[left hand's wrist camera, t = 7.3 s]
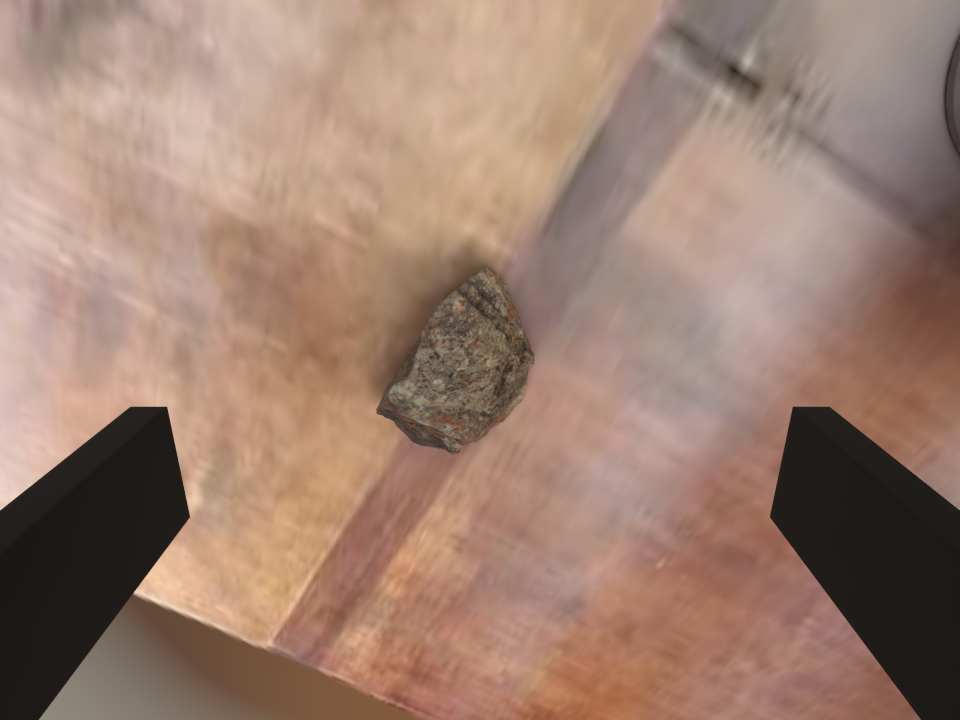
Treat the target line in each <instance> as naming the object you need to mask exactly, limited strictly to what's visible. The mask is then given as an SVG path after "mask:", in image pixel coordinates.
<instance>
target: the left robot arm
mask: <svg viewBox="0 0 960 720" xmlns="http://www.w3.org/2000/svg"><path fill="white" fill-rule="evenodd" d="M946 110H947V119H948V125H949V130H950V133H951V136H952V139H953V142H954V144H955V146H956V148H957V150H958V152H959V153H960V39H959V41H958V44H957V47H956V49H955V52H954V55H953V59H952V62H951V66H950V71H949V76H948V82H947V91H946ZM189 518H190V515H189V510H188V505H187V500H186V495H185V491H184V486H183V481H182V476H181V471H180V467H179V462H178V457H177V452H176V447H175V443H174V438H173V433H172V428H171V423H170V419H169V414H168V409H167V407H130V408H128V409H127V410H126V411H125V412H123V413H122V414H121V415H120V416H118V417H117V418H116V419H115V420H113V421H112V422H111V423H110V424H108V425H107V426H106V427H105V428H103V429H102V430H101V431H100V432H98V433H97V434H96V435H95V436H93V437H92V438H91V439H90V440H88V441H87V442H86V443H84V444H83V445H82V446H81V447H79V448H78V449H77V450H76V451H74V452H73V453H72V454H71V455H69V456H68V457H67V458H66V459H64V460H63V461H62V462H61V463H59V464H58V465H57V466H56V467H54V468H53V469H52V470H51V471H49V472H48V473H47V474H46V475H44V476H43V477H42V478H41V479H39V480H38V481H37V482H36V483H34V484H33V485H32V486H30V487H29V488H28V489H27V490H25V491H24V492H23V493H22V494H20V495H19V496H18V497H17V498H15V499H14V500H13V501H12V502H10V503H9V504H8V505H7V506H5V507H4V508H3V509H2V510H0V720H39V719H40V717H41V716H42V715H43V713H44V712H45V711H46V709H47V708H48V707H49V705H50V704H51V702H52V701H53V700H54V699H55V697H56V696H57V695H58V693H59V692H60V691H61V689H62V688H63V686H64V685H65V684H66V682H67V681H68V680H69V678H70V677H71V676H72V674H73V673H74V672H75V670H76V669H77V668H78V666H79V665H80V664H81V662H82V661H83V660H84V658H85V657H86V656H87V654H88V653H89V652H90V650H91V649H92V648H93V646H94V645H95V644H96V642H97V641H98V640H99V638H100V637H101V636H102V634H103V633H104V632H105V630H106V629H107V628H108V626H109V625H110V624H111V622H112V621H113V620H114V618H115V617H116V615H117V614H118V613H119V611H120V610H121V609H122V607H123V606H124V605H125V603H126V602H127V601H128V599H129V598H130V597H131V595H132V594H133V593H134V591H135V590H136V589H137V587H138V586H139V585H140V583H141V582H142V581H143V579H144V578H145V577H146V575H147V574H148V573H149V571H150V570H151V569H152V567H153V566H154V565H155V563H156V562H157V561H158V559H159V558H160V557H161V555H162V554H163V553H164V551H165V550H166V549H167V547H168V546H169V545H170V543H171V542H172V540H173V539H174V538H175V536H176V535H177V534H178V532H179V531H180V530H181V528H182V527H183V526H184V524H185V523H186V522H187V520H188V519H189ZM770 518H771V519H772V520H773V522H774V523H775V524H776V526H777V527H778V528H779V530H780V531H781V532H782V534H783V535H784V536H785V538H786V539H787V540H788V542H789V543H790V545H791V546H792V547H793V549H794V550H795V551H796V553H797V554H798V555H799V557H800V558H801V559H802V561H803V562H804V563H805V565H806V566H807V567H808V569H809V570H810V571H811V573H812V574H813V575H814V577H815V578H816V579H817V581H818V582H819V583H820V585H821V586H822V587H823V589H824V590H825V591H826V593H827V594H828V595H829V597H830V598H831V599H832V601H833V602H834V603H835V605H836V606H837V607H838V609H839V610H840V611H841V613H842V614H843V616H844V617H845V618H846V620H847V621H848V622H849V624H850V625H851V626H852V628H853V629H854V630H855V632H856V633H857V634H858V636H859V637H860V638H861V640H862V641H863V642H864V644H865V645H866V646H867V648H868V649H869V650H870V652H871V653H872V654H873V656H874V657H875V658H876V660H877V661H878V662H879V664H880V665H881V666H882V668H883V669H884V670H885V672H886V673H887V674H888V676H889V677H890V678H891V680H892V681H893V682H894V684H895V685H896V686H897V688H898V689H899V691H900V692H901V693H902V695H903V696H904V697H905V699H906V700H907V701H908V703H909V704H910V705H911V707H912V708H913V709H914V711H915V712H916V713H917V715H918V716H919V717H920V719H921V720H960V510H958V509H957V508H956V507H955V506H953V505H952V504H951V503H950V502H948V501H947V500H946V499H945V498H943V497H942V496H941V495H940V494H938V493H937V492H936V491H935V490H933V489H932V488H931V487H930V486H928V485H927V484H926V483H924V482H923V481H922V480H921V479H919V478H918V477H917V476H916V475H914V474H913V473H912V472H911V471H909V470H908V469H907V468H906V467H904V466H903V465H902V464H901V463H899V462H898V461H897V460H896V459H894V458H893V457H892V456H891V455H889V454H888V453H887V452H886V451H884V450H883V449H882V448H881V447H879V446H878V445H877V444H876V443H874V442H873V441H872V440H870V439H869V438H868V437H867V436H865V435H864V434H863V433H862V432H860V431H859V430H858V429H857V428H855V427H854V426H853V425H852V424H850V423H849V422H848V421H847V420H845V419H844V418H843V417H842V416H840V415H839V414H838V413H837V412H835V411H834V410H833V409H832V408H830V407H793V409H792V414H791V419H790V423H789V428H788V433H787V438H786V443H785V447H784V452H783V457H782V462H781V467H780V471H779V476H778V481H777V486H776V491H775V495H774V500H773V505H772V510H771V515H770Z"/></svg>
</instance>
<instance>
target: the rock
mask: <svg viewBox="0 0 960 720" xmlns="http://www.w3.org/2000/svg"><path fill="white" fill-rule="evenodd" d="M533 364H534V354H533V352H532V351H531V349H530V345H529V341H528V340H527V338H526V336H525V334H524V331H523V328H522V325H521V320H520V318H519V315H518V312H517V310H516V309H515V308H514V305H513V303H512V300H511V297H510V294H509V290H508V287H507V285H506V284H505V283H504V282H502V280H501V278H500V277H499V275H498V273H496V272H494V271H493V270H491V269H488V268H487V267H486V268H484V269H482V270H480V271H479V272H477V273H476V274H475V275H472V276H471V277H470V278H469V279H468V280H467V281H465V282H463V283H462V284H460V285H459V287H458V288H457V289H455V290H454V291H453V292H452V293H450V294H448V295H447V296H446V297H445V298H444V299H443V300H442V301H441V302H440V304H439V305H438V306H437V307H436V308H435V309H434V311H433V312H432V314H431V315H430V317H429V318H428V321H427V323H426V326H425V328H424V329H423V331H422V333H421V336H420V338H419V339H418V341H417V343H416V345H415V347H414V349H413V350H412V352H411V353H410V355H409V356H408V357H407V358H406V359H405V360H404V362H403V363H402V364H401V366H400V368H399V369H398V371H397V374H396V376H395V378H394V379H393V380H392V382H391V383H390V384H389V385H388V386H387V388H386V390H385V393H384V395H383V398H382V400H381V402H380V404H379V406H378V407H377V409H376V410H377V414H379V415H383V416H384V417H385V418H388V419H391V420H393V421H394V422H395V424H396V426H397V427H398V428H400V430H401V431H402V432H404V433H405V434H406V435H407V436H408V437H409V438H410V439H411V441H412V442H414V443H416V444H419V445H422V446H430V447H436V448H439V449H445V450H447V451H448V452H449V453H450V454H452V455H454V454H456V453H459V452H460V449H461V448H462V447H463V446H466V445H470V444H473V443H475V442H478V441H479V439H481V438H482V437H484V436H486V434H487V433H488V431H489V430H490V429H491V428H493V427H495V426H496V425H498V424H499V423H500V422H503V421H504V420H505V419H506V418H507V417H508V416H509V414H510V413H511V412H512V410H513V408H515V407H516V406H517V405H518V404H519V403H520V402H521V401H522V399H523V397H524V395H525V394H524V392H525V390H526V386H527V374H528V371H529V369H530V368H531V367H532V366H533Z"/></svg>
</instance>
